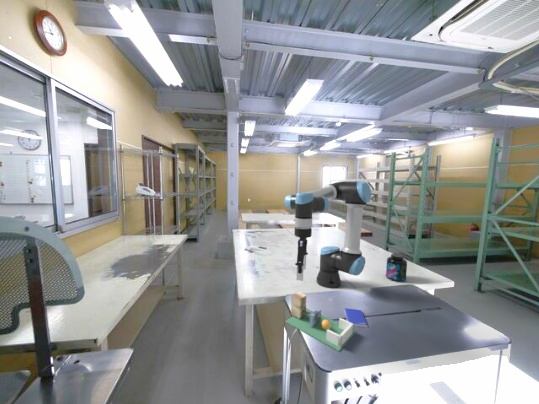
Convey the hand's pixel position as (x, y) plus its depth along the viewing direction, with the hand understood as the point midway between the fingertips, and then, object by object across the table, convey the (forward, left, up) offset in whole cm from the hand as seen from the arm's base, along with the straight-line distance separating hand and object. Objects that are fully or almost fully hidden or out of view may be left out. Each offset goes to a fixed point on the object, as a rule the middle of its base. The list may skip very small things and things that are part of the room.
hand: (301, 273), depth 103 cm
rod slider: (-3, +1, -21) cm, 21 cm away
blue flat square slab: (-21, +17, -23) cm, 35 cm away
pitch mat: (-3, +9, -22) cm, 24 cm away
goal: (-3, +18, -22) cm, 29 cm away
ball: (-3, +12, -20) cm, 23 cm away
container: (-86, +18, -22) cm, 90 cm away
